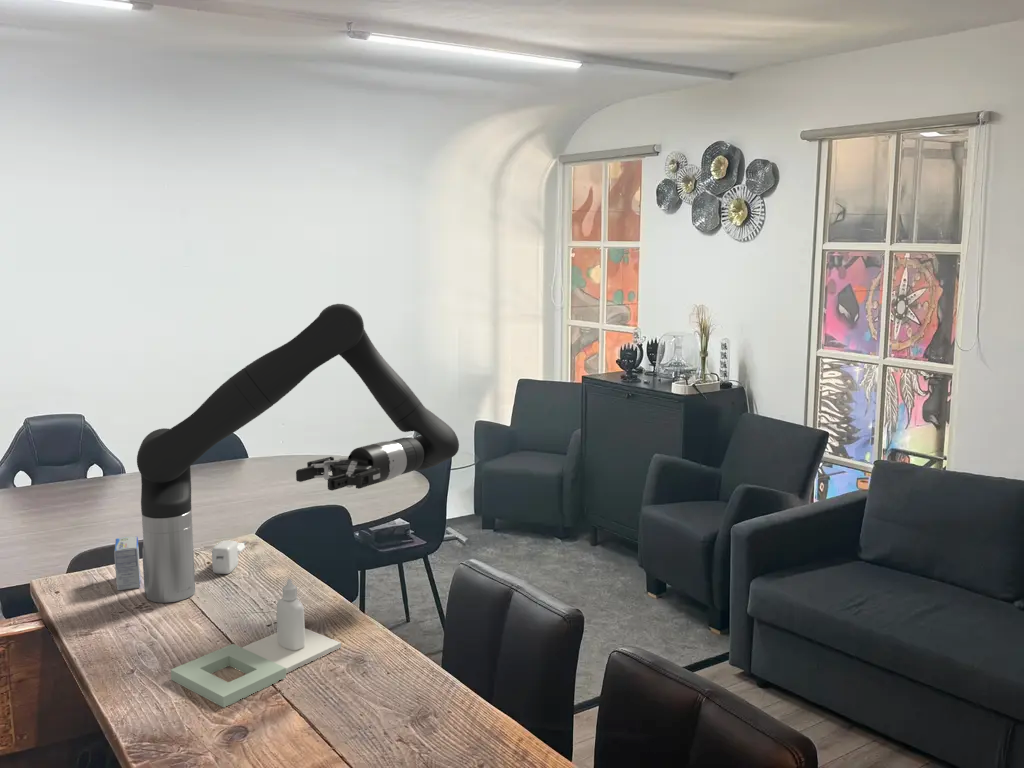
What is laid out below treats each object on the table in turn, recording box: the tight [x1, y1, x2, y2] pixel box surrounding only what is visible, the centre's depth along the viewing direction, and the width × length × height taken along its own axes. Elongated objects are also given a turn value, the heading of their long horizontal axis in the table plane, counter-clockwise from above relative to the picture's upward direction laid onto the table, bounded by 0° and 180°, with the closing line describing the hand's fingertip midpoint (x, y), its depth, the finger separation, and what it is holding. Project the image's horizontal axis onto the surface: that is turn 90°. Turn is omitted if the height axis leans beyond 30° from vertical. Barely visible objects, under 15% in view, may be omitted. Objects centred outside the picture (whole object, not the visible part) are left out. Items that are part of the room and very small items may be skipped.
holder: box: [170, 643, 287, 708], centre depth 151 cm, size 14×12×2 cm
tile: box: [241, 627, 342, 674], centre depth 161 cm, size 12×12×1 cm
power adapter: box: [211, 539, 247, 575], centre depth 200 cm, size 11×5×6 cm, turn 175°
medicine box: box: [113, 535, 141, 591], centre depth 189 cm, size 8×4×9 cm, turn 22°
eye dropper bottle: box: [276, 578, 306, 650], centre depth 160 cm, size 4×6×12 cm
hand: (313, 480), depth 166 cm, fingers open, 8 cm apart
